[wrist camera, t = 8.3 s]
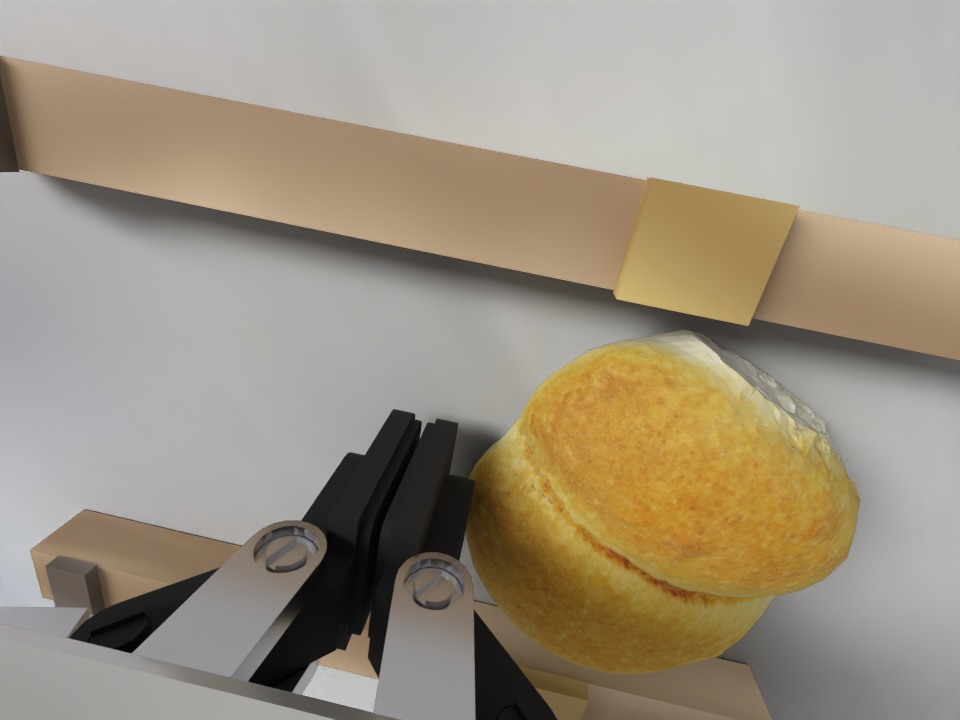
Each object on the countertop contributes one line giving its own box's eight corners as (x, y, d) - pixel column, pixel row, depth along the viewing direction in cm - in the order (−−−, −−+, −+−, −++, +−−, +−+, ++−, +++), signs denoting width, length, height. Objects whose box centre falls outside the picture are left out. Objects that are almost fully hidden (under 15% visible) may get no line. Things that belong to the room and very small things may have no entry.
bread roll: (427, 513, 14) (387, 632, 11) (618, 268, 11) (656, 319, 7) (645, 642, 15) (677, 793, 12) (883, 452, 12) (1037, 581, 8)
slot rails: (724, 706, 16) (753, 791, 13) (93, 555, 16) (27, 612, 14) (1005, 248, 10) (1136, 270, 7) (-7, 53, 11) (-145, 24, 8)
